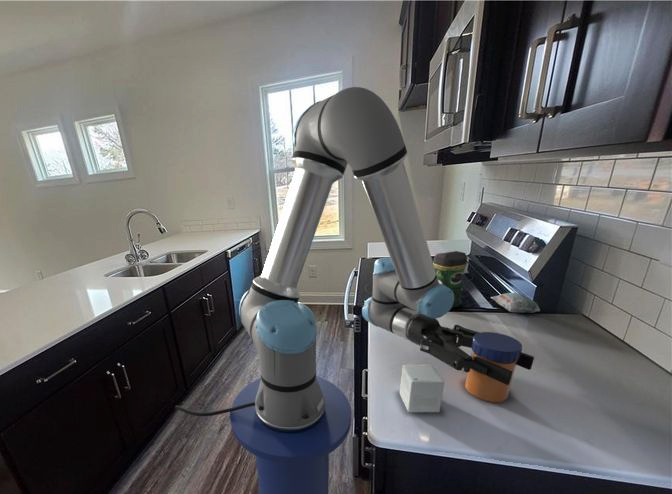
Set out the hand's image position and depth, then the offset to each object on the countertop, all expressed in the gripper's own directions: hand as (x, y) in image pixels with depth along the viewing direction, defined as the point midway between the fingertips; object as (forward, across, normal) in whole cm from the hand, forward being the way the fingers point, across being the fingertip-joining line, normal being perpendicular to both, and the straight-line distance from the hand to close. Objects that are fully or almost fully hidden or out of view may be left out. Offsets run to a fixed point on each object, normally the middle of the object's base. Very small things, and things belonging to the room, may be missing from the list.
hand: (521, 370), depth 60 cm
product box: (-10, +15, -8) cm, 20 cm away
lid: (-5, 0, +4) cm, 6 cm away
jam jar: (-5, 0, -8) cm, 9 cm away
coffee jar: (-37, -35, -8) cm, 51 cm away
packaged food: (-22, -48, -8) cm, 53 cm away
